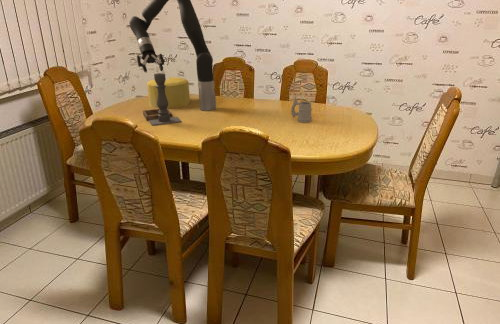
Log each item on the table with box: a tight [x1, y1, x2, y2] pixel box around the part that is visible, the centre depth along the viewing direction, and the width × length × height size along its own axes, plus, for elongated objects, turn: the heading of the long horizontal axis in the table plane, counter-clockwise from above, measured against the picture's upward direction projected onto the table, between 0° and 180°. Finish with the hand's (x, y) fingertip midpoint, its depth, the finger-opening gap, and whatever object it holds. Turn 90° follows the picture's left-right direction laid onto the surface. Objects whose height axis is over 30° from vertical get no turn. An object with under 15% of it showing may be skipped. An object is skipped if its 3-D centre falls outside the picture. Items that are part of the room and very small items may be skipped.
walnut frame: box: [142, 108, 173, 122], centre depth 216 cm, size 14×14×2 cm
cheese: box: [146, 76, 191, 109], centre depth 242 cm, size 26×26×15 cm
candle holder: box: [153, 72, 170, 122], centre depth 201 cm, size 6×6×25 cm
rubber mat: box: [148, 116, 182, 127], centre depth 206 cm, size 16×10×1 cm, turn 113°
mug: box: [290, 97, 313, 124], centre depth 202 cm, size 8×12×12 cm, turn 61°
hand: (154, 71), depth 205 cm, fingers open, 8 cm apart
